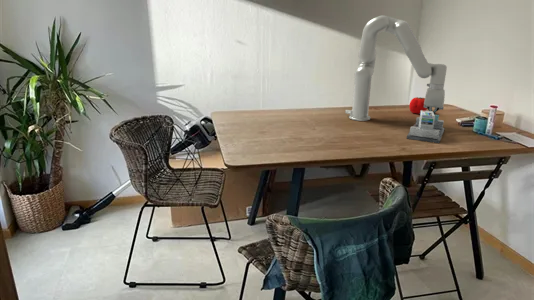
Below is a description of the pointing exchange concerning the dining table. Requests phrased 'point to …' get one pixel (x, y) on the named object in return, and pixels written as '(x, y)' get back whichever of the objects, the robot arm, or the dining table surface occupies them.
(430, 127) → the light bulb box
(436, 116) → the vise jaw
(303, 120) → the dining table surface
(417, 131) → the base
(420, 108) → the tomato
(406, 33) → the robot arm
